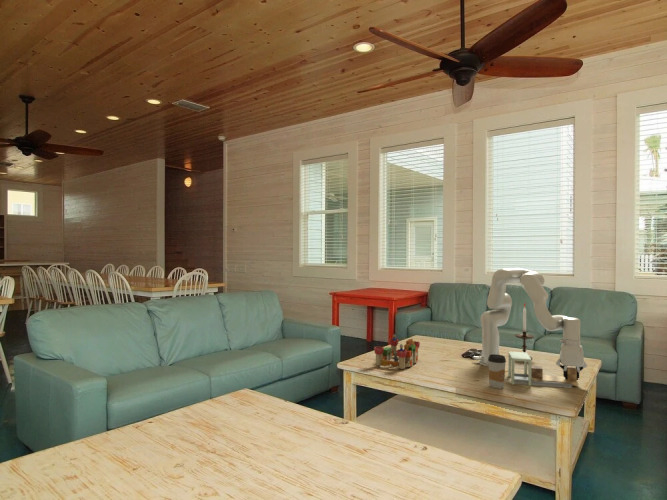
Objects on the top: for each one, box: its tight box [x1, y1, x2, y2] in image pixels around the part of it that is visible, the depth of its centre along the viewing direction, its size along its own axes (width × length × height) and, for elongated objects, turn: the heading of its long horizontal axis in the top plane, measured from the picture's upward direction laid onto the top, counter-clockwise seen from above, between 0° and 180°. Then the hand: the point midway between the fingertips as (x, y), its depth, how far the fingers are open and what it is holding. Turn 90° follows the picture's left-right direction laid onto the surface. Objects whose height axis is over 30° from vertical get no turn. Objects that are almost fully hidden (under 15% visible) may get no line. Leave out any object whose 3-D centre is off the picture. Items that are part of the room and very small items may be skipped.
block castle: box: [373, 333, 421, 370], centre depth 258 cm, size 30×20×14 cm
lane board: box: [514, 372, 573, 389], centre depth 218 cm, size 26×12×2 cm, turn 74°
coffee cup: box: [488, 354, 507, 389], centre depth 212 cm, size 8×8×15 cm
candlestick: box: [514, 302, 535, 361], centre depth 265 cm, size 11×11×35 cm
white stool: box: [507, 351, 532, 387], centre depth 221 cm, size 9×15×13 cm, turn 164°
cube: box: [531, 365, 544, 379], centre depth 219 cm, size 5×5×5 cm
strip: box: [531, 366, 579, 387], centre depth 216 cm, size 20×10×7 cm, turn 74°
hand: (571, 378), depth 214 cm, fingers closed on strip, 4 cm apart
